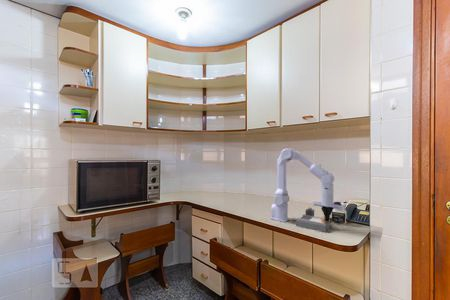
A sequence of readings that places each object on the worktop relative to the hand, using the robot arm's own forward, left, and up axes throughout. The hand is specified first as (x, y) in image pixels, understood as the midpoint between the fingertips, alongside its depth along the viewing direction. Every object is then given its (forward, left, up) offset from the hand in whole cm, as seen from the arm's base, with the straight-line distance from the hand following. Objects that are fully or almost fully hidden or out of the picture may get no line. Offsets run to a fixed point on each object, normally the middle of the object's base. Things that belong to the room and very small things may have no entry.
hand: (327, 220), depth 120 cm
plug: (-12, +10, -4) cm, 16 cm away
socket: (-7, 0, -4) cm, 8 cm away
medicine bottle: (+3, +16, -5) cm, 17 cm away
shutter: (-5, 0, -1) cm, 5 cm away
